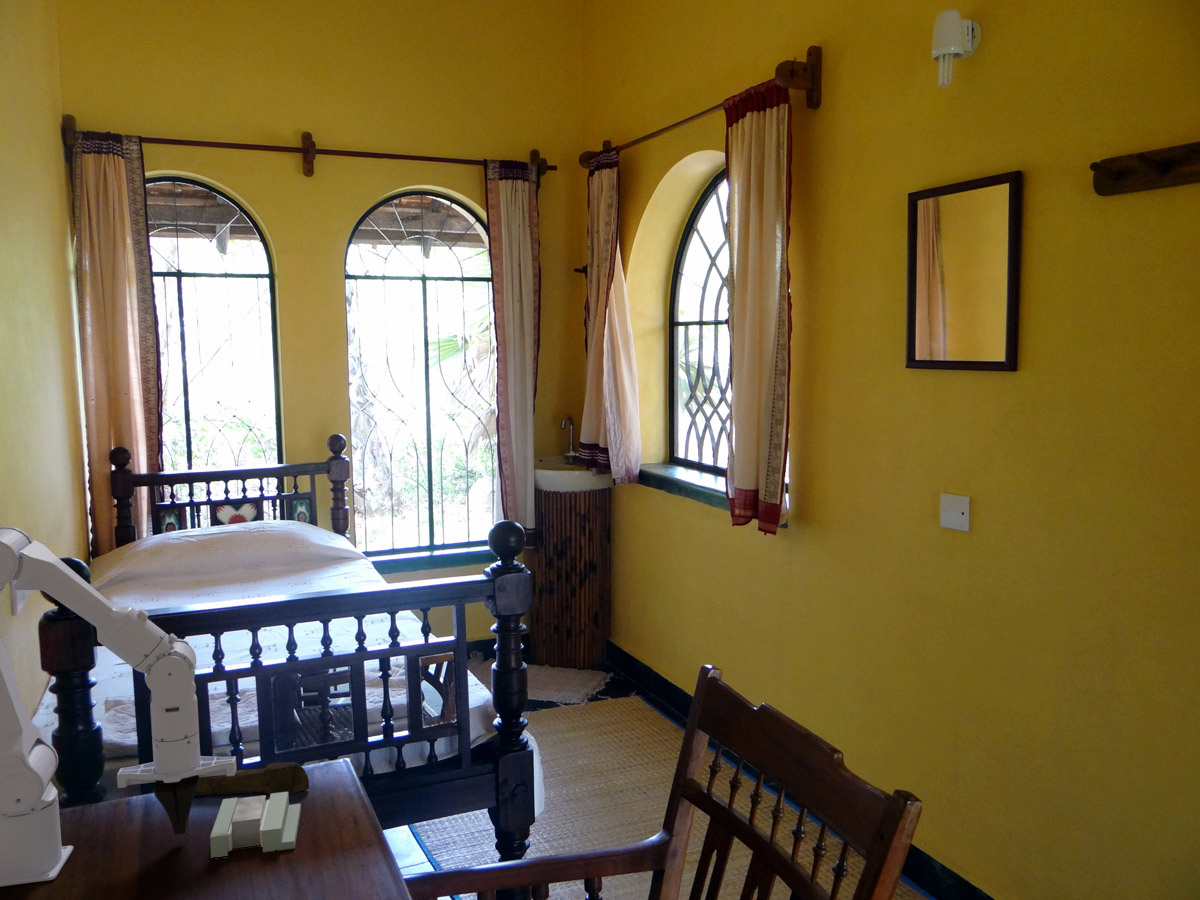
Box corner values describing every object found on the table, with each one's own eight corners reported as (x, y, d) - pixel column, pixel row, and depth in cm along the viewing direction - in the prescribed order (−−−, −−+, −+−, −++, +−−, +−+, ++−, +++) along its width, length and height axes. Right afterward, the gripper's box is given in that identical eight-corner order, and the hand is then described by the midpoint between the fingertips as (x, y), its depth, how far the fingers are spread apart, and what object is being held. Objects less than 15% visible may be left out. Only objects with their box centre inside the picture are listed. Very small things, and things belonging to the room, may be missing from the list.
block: (233, 850, 125) (231, 821, 125) (240, 825, 132) (238, 798, 132) (261, 846, 126) (260, 818, 126) (267, 822, 133) (265, 795, 132)
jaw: (211, 858, 123) (210, 837, 123) (224, 819, 133) (223, 799, 133) (230, 856, 123) (229, 834, 123) (242, 817, 134) (241, 797, 134)
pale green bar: (259, 852, 124) (258, 831, 124) (268, 813, 135) (267, 794, 135) (294, 848, 125) (293, 826, 125) (300, 810, 136) (299, 790, 136)
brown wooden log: (174, 804, 139) (172, 774, 138) (185, 791, 143) (184, 762, 142) (303, 801, 140) (302, 771, 139) (311, 788, 143) (309, 759, 143)
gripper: (108, 751, 120) (114, 852, 121) (228, 739, 123) (233, 837, 125) (122, 730, 127) (128, 826, 128) (236, 719, 130) (241, 813, 132)
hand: (181, 830), depth 127 cm, fingers closed
